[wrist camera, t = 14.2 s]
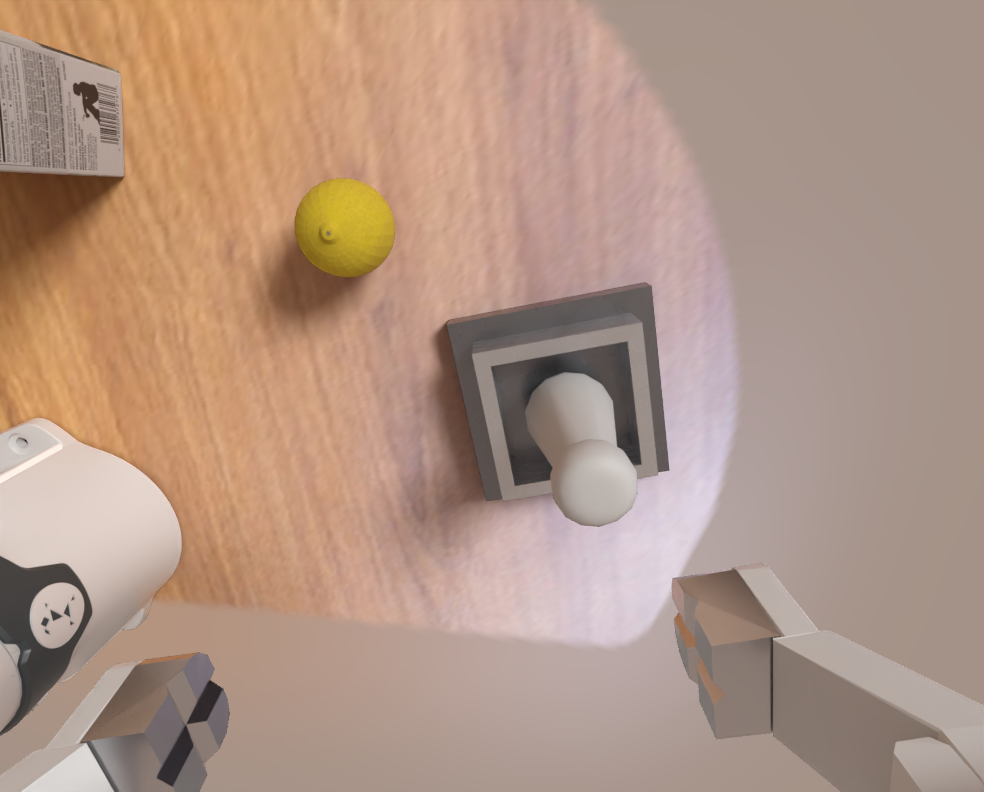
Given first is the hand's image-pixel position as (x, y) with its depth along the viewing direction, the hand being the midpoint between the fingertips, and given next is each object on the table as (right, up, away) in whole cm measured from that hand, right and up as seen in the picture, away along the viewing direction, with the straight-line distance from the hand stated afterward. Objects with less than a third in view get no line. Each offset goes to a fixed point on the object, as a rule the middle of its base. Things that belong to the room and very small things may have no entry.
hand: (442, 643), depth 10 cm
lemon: (-8, +15, +27) cm, 32 cm away
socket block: (+6, +4, +31) cm, 32 cm away
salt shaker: (+6, +4, +30) cm, 31 cm away
